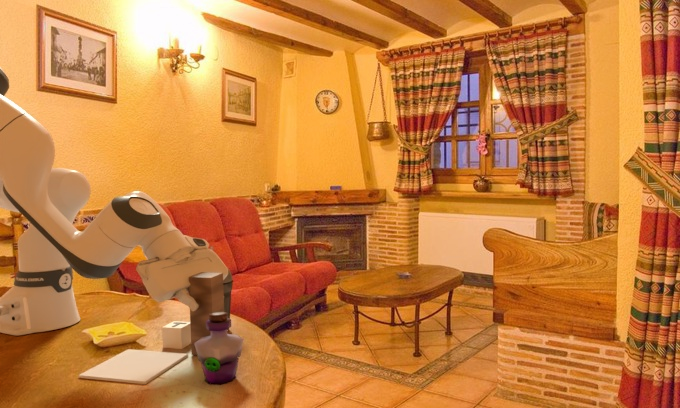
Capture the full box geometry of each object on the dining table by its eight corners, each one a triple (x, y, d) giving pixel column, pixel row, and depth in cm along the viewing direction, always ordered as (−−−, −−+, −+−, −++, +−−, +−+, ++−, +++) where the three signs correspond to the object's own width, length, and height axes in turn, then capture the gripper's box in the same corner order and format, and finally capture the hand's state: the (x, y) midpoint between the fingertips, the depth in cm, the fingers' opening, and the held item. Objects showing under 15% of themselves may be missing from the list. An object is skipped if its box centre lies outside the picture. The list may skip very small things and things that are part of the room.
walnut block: (191, 354, 104) (188, 276, 103) (204, 346, 109) (201, 272, 108) (213, 356, 103) (211, 277, 102) (225, 348, 108) (222, 272, 107)
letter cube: (163, 347, 110) (162, 326, 109) (174, 341, 114) (173, 320, 114) (181, 349, 108) (180, 327, 108) (192, 342, 113) (192, 321, 113)
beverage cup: (227, 335, 117) (224, 248, 115) (197, 334, 118) (194, 248, 117) (239, 326, 124) (237, 243, 122) (211, 324, 125) (208, 243, 124)
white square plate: (78, 377, 94) (78, 375, 94) (128, 351, 107) (128, 349, 107) (145, 384, 90) (145, 381, 90) (188, 356, 104) (187, 353, 104)
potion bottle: (194, 391, 87) (192, 321, 86) (196, 372, 96) (194, 308, 95) (246, 385, 89) (244, 317, 88) (243, 367, 97) (241, 305, 97)
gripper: (140, 252, 98) (181, 307, 95) (210, 238, 117) (247, 284, 113) (124, 273, 101) (164, 328, 97) (196, 256, 119) (231, 302, 115)
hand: (209, 304), depth 105 cm, fingers closed on walnut block, 6 cm apart
